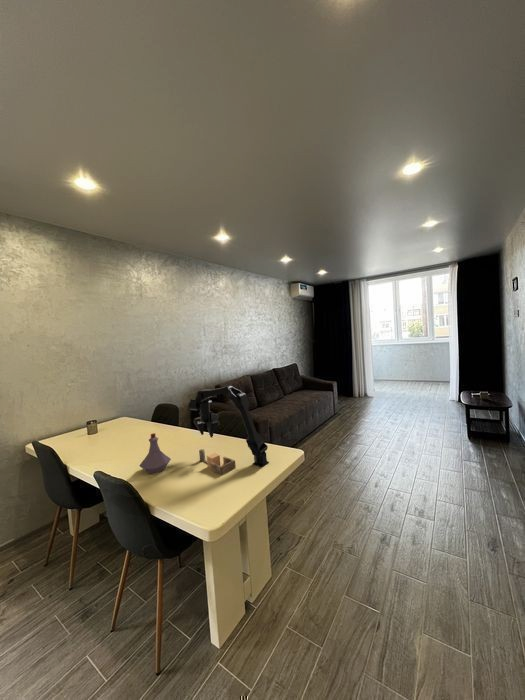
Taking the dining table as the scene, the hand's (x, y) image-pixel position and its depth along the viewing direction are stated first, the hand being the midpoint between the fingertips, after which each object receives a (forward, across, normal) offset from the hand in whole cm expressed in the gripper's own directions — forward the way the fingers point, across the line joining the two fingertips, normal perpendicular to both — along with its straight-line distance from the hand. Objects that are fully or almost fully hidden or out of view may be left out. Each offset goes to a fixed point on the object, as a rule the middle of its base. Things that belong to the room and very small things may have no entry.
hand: (207, 436), depth 161 cm
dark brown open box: (+12, -22, +6) cm, 25 cm away
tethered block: (+12, -9, +6) cm, 16 cm away
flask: (+12, +10, +28) cm, 32 cm away
